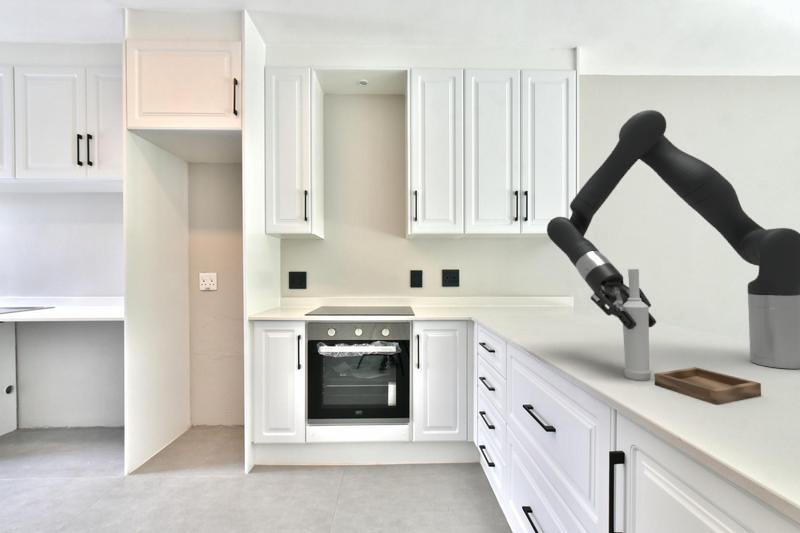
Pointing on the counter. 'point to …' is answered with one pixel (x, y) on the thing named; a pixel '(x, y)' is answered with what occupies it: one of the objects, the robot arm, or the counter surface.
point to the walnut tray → (708, 385)
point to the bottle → (636, 333)
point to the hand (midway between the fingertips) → (642, 325)
